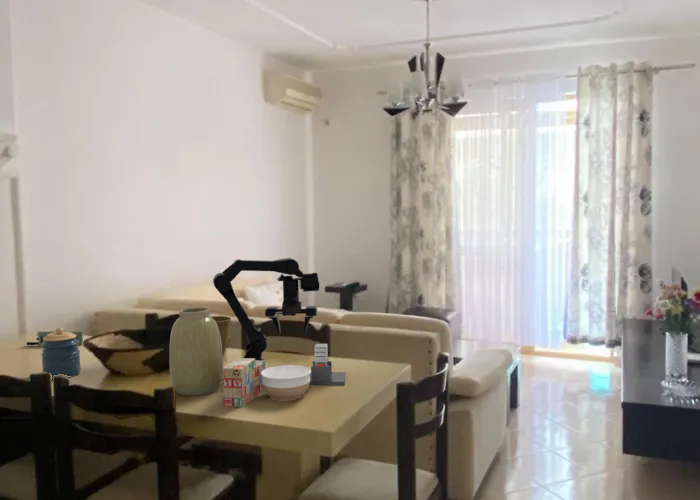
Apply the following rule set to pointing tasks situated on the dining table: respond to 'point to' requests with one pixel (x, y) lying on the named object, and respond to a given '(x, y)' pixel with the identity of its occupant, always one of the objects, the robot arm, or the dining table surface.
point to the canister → (61, 353)
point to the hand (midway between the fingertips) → (292, 334)
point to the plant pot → (223, 330)
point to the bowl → (286, 382)
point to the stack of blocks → (242, 381)
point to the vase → (195, 353)
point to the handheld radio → (44, 333)
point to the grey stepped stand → (326, 375)
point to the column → (321, 354)
